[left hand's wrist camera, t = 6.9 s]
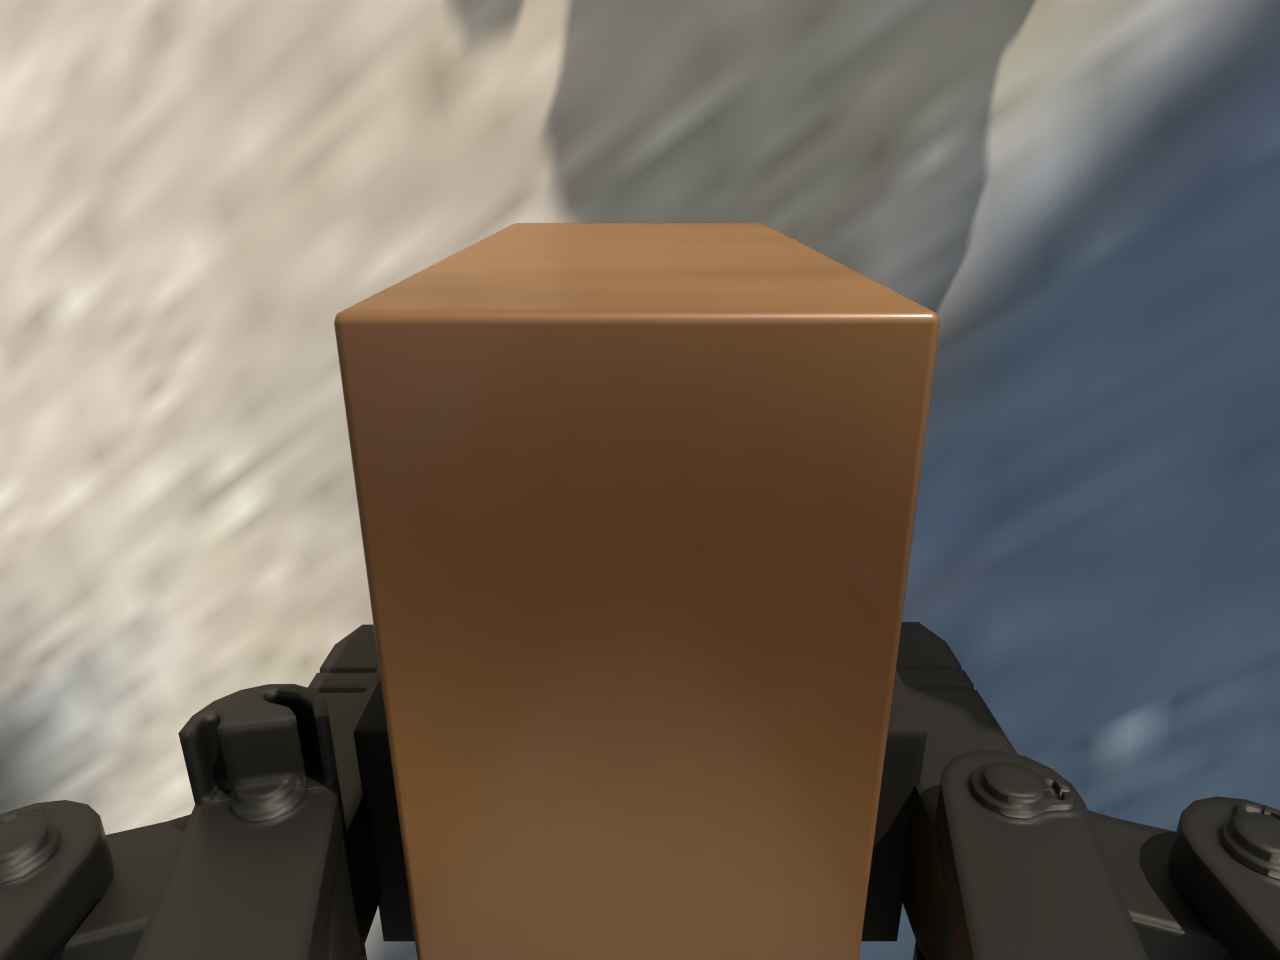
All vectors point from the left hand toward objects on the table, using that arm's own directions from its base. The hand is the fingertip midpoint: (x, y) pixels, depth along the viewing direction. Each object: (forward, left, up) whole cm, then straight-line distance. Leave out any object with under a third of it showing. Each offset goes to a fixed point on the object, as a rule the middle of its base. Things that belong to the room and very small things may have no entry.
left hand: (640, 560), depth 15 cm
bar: (+15, +26, -1) cm, 30 cm away
